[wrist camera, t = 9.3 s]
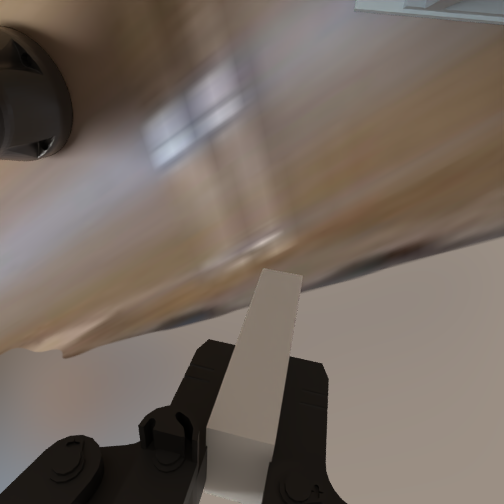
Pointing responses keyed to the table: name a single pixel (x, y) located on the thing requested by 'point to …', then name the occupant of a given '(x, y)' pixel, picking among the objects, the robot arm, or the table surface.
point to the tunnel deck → (438, 9)
